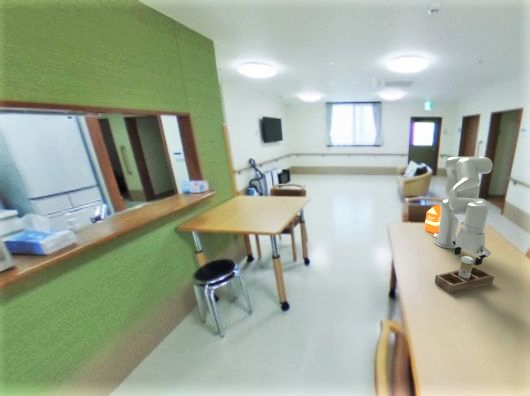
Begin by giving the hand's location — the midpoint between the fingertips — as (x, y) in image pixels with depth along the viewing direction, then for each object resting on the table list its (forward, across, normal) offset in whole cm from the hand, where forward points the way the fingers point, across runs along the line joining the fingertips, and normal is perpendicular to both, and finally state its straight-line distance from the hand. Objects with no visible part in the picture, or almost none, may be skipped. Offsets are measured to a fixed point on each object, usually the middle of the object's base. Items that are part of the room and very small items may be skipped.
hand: (467, 259), depth 114 cm
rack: (+14, +1, 0) cm, 14 cm away
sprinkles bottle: (+13, 0, 0) cm, 13 cm away
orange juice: (+15, -53, +40) cm, 69 cm away
